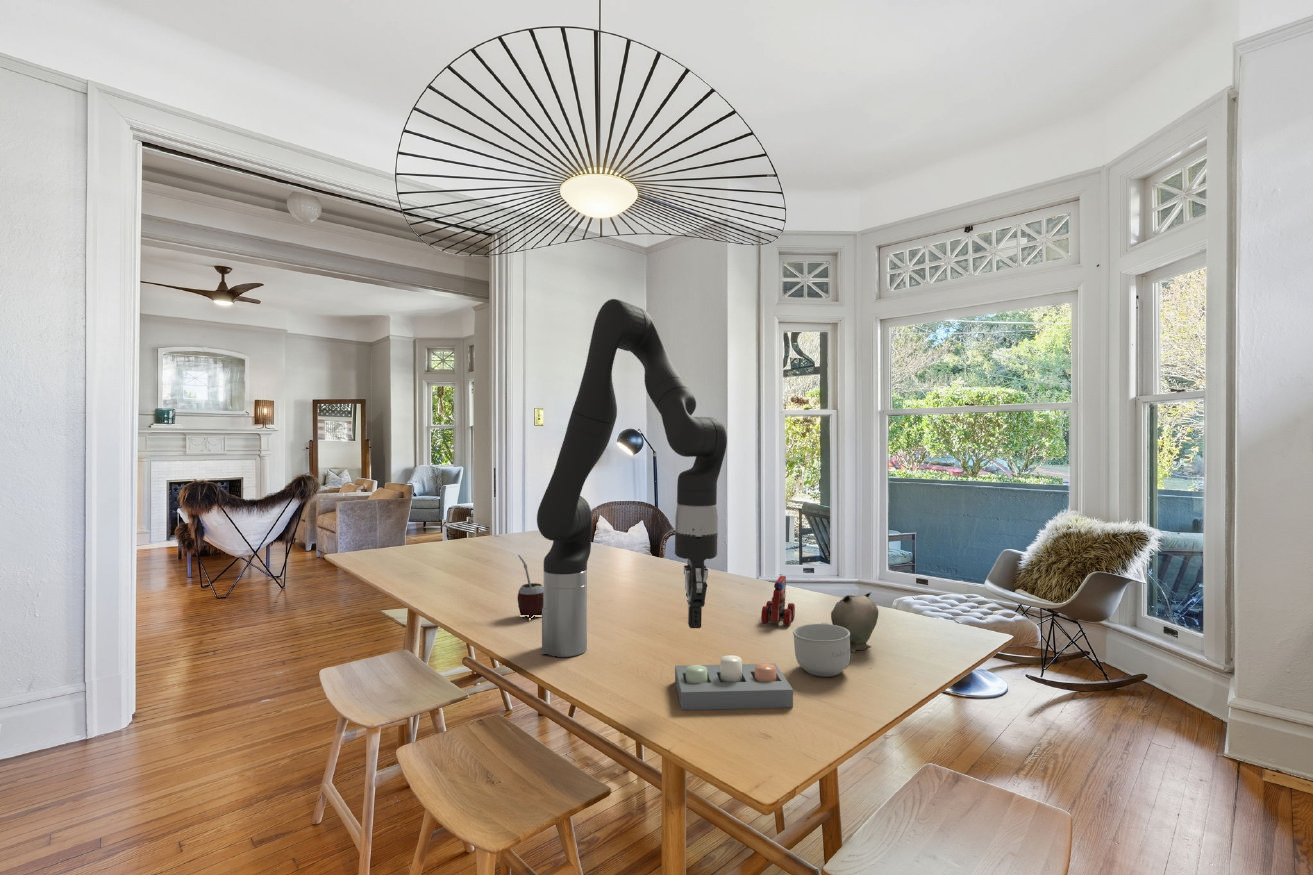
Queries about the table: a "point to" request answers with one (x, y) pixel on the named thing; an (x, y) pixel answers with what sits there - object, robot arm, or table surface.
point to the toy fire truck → (778, 605)
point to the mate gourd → (530, 596)
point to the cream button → (731, 669)
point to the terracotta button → (765, 672)
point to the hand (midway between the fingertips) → (694, 626)
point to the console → (732, 690)
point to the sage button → (696, 674)
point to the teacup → (822, 648)
